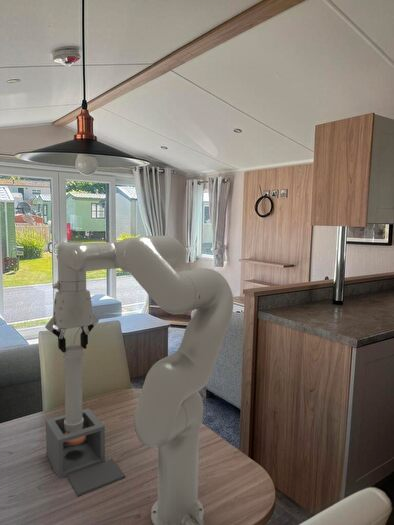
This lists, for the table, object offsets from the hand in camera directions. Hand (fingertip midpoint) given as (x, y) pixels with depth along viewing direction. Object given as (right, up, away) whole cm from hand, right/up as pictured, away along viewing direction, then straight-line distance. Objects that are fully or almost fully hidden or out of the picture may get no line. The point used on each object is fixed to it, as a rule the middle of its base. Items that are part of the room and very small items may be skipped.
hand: (73, 348), depth 109 cm
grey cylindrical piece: (0, -24, +3) cm, 24 cm away
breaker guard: (-1, -33, +3) cm, 33 cm away
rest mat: (+8, -34, -5) cm, 35 cm away
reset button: (0, -29, +3) cm, 29 cm away
